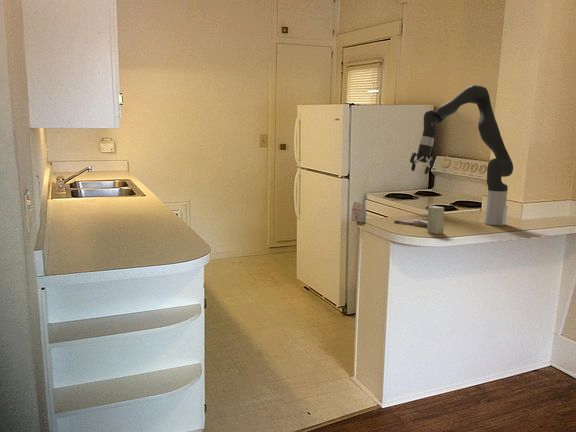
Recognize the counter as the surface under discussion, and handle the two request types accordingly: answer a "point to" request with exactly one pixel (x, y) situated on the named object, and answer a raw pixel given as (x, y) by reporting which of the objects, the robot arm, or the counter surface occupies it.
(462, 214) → the counter surface
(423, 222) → the dock board
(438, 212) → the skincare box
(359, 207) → the pink printed carton
